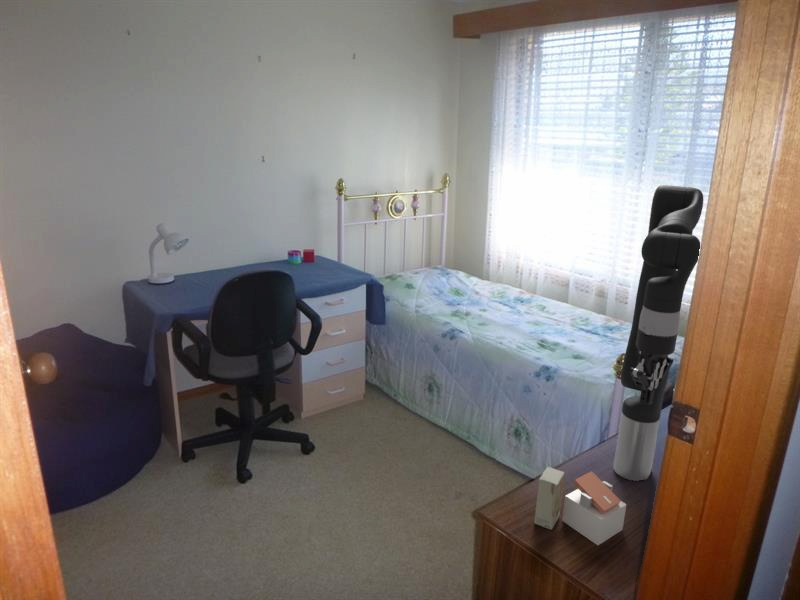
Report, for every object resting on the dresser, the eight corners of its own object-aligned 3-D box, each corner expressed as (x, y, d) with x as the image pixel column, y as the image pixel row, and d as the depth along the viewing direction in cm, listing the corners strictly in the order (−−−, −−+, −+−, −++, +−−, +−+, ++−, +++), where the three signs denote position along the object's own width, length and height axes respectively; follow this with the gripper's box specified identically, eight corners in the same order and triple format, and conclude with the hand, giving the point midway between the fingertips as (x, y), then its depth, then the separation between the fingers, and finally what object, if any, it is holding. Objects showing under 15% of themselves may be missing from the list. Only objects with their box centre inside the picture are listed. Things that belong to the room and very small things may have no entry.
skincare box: (551, 530, 136) (557, 485, 132) (533, 524, 138) (538, 479, 134) (560, 515, 141) (565, 471, 137) (542, 508, 144) (547, 465, 140)
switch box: (586, 506, 144) (591, 472, 141) (622, 529, 137) (628, 494, 134) (562, 520, 139) (566, 485, 136) (597, 545, 132) (603, 508, 129)
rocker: (587, 477, 141) (591, 470, 139) (616, 507, 135) (621, 500, 134) (571, 485, 137) (575, 479, 136) (600, 517, 132) (604, 510, 130)
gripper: (659, 316, 129) (647, 388, 135) (623, 329, 122) (612, 404, 127) (692, 327, 123) (679, 401, 129) (656, 340, 116) (643, 419, 122)
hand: (645, 402), depth 128 cm, fingers closed
